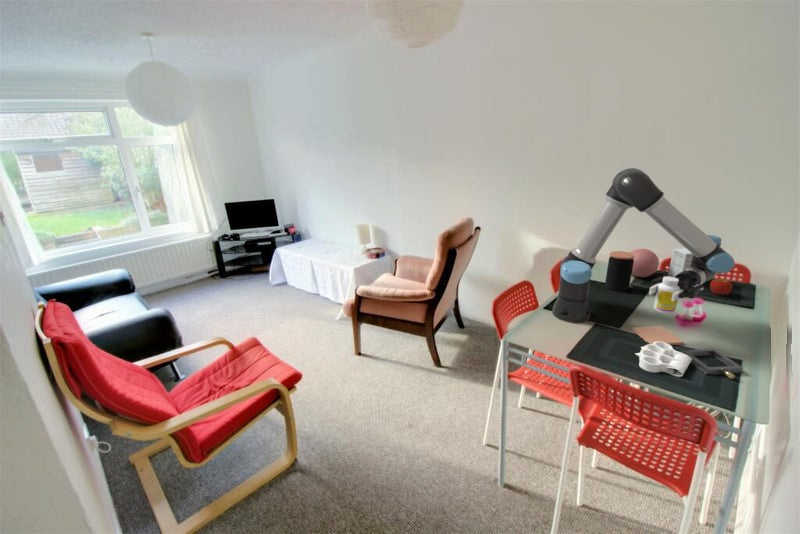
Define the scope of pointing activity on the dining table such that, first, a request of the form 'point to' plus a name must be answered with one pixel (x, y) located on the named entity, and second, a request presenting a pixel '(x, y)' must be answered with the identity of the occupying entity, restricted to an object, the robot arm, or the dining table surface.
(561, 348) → the dining table surface
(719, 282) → the apple
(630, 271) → the coffee jar
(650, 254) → the balloon
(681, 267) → the supplement box
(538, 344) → the dining table surface
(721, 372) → the dark gray square frame
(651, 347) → the knuckle duster
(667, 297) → the supplement bottle
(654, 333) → the terracotta tile
